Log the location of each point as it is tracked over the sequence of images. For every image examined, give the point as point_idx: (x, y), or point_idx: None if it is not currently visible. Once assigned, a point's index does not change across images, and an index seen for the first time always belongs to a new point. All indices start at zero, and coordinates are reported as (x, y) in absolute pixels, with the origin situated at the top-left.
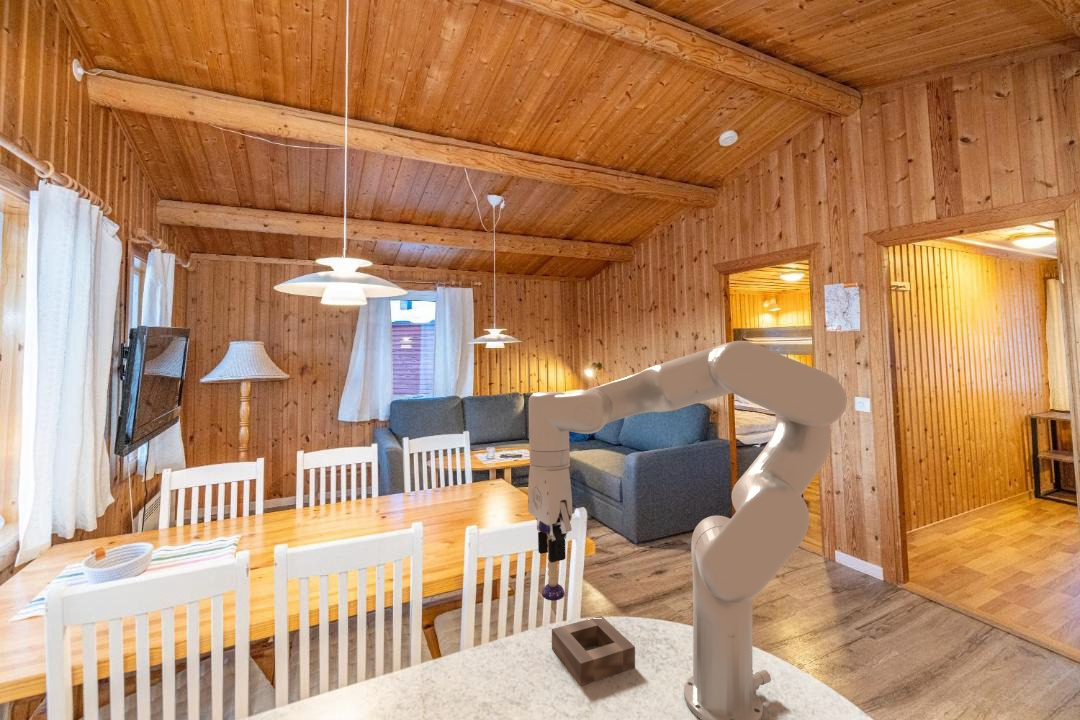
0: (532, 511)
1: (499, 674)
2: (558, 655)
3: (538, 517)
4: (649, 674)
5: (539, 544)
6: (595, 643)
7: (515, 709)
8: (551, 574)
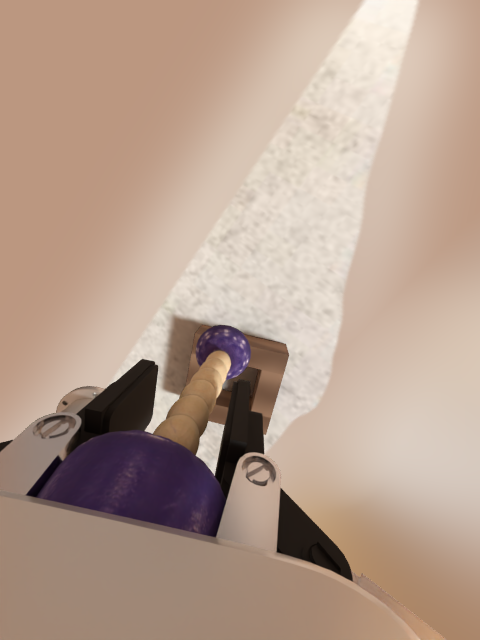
0: (224, 624)
1: (288, 249)
2: (264, 339)
3: (31, 535)
4: (170, 401)
5: (235, 398)
6: (252, 394)
7: (216, 228)
8: (203, 363)
